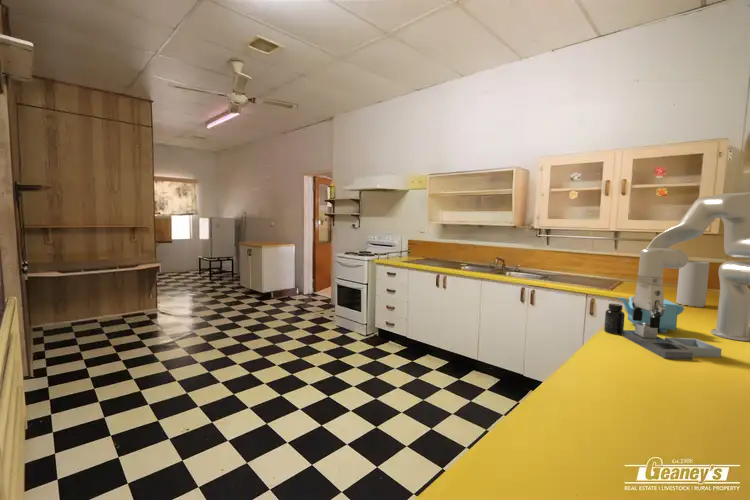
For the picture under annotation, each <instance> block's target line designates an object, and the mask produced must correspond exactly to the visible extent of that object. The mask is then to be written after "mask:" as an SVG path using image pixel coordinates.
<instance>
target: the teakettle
mask: <svg viewBox="0 0 750 500" xmlns="http://www.w3.org/2000/svg"><path fill="white" fill-rule="evenodd" d="M633 297H634V296H629V299H627V298H625V297H621V296H620V297H619V296H617V298H618V299H619V300H620V301H622V303H623V306H624V309H625V312H626V314H627V320H628V321H629V322H631V323H632V324H633V325H634V326H635V323H643V322H648V323H650V317H652V316H651V313H650V311H647V310H644V309H642V310H641V311H643V313H642V321H634V320H633V306H632V300H631V299H632V298H633ZM663 306H664V307H665V311H664V314H663V315H662V318H660V326H659V328H658V332H660V333H665V334H667V333H669V332H668V330H674V331H676V330H677V326H678V325H677V324H678V322H677V321H678V316H679V315H680V314H682V313H683V312H684V310H685V307H684V306H683V305H679V304H677V303H675V302H673V301H670V300H668V299H665V298H664V303H663ZM655 313H656V312H654V314H655Z"/></svg>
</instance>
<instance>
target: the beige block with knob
mask: <svg viewBox="0 0 750 500" xmlns="http://www.w3.org/2000/svg"><path fill="white" fill-rule="evenodd" d="M649 326H650V323H648V322H643V323H635V325H634V331H635V335H636V336H639V337H641V338H644V339H657V336H658V332H659V328H651V327H649Z"/></svg>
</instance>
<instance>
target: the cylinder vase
mask: <svg viewBox="0 0 750 500" xmlns="http://www.w3.org/2000/svg"><path fill="white" fill-rule="evenodd" d="M709 271H710V262H707V261H697V260H688V263H687V264H686V265H685V266H684V267H682V268H679V270H678V277H677V287H676V288H677V291H676V299H675V302H676V303H675V304H677V303H678V305H679V304H682V305H681V306H683V305H689V306H696V307H695V308H705V307H706V304H707V303H706V301H707V291H708V284H709V283H708V281H709ZM689 306H688V307H689ZM704 306H705V307H704Z"/></svg>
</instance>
